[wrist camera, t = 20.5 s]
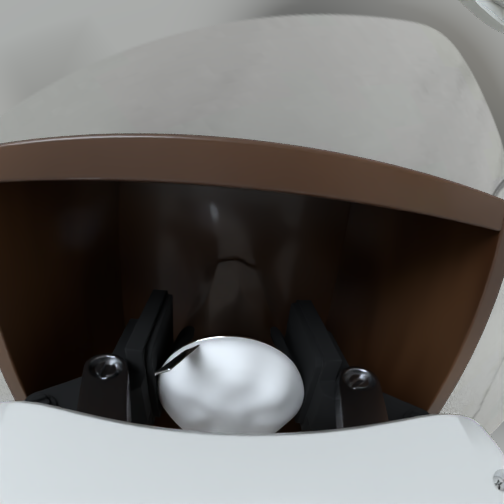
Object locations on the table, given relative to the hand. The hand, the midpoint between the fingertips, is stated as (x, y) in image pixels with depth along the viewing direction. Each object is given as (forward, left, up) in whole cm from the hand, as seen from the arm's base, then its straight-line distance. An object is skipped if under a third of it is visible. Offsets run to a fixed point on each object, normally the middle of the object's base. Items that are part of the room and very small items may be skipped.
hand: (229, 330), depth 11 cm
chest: (+1, 0, -6) cm, 6 cm away
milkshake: (0, 0, -5) cm, 5 cm away
